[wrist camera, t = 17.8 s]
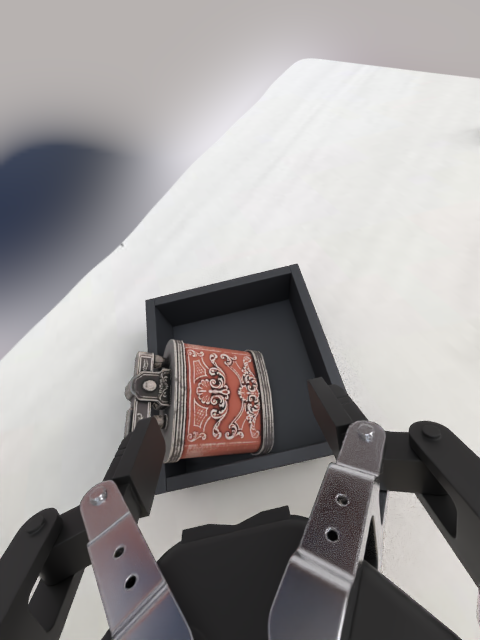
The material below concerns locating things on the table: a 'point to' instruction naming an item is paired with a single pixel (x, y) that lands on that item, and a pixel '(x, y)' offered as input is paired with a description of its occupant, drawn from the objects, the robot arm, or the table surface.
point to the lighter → (203, 400)
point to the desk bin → (278, 354)
